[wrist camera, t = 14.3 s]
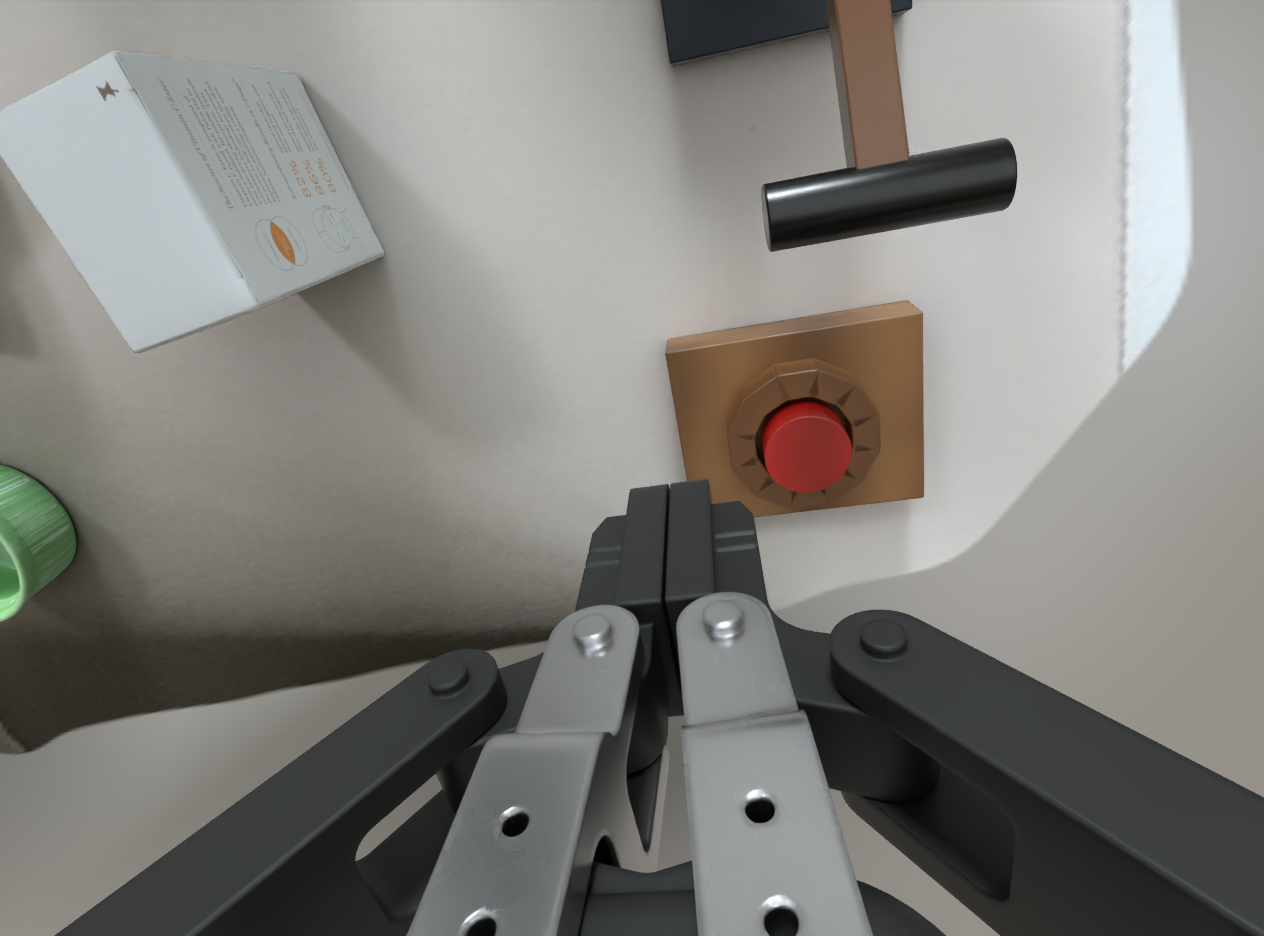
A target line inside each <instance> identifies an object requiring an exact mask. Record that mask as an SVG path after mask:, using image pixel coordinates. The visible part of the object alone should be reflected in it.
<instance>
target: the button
mask: <svg viewBox="0 0 1264 936" xmlns="http://www.w3.org/2000/svg"><path fill="white" fill-rule="evenodd" d="M762 449H763V454H764V459H765V464H766V468H767V470H768V472H769V474H770V476H771V477H772V478H773V479H774V480H775V482H777V483H778V484H779V485H780V486H782V487H784V488H786V489H788V490H791V491H794V492H800V493H811V492H817V491H820V490H823V489H825V488H828V487H829V486H831V485H833V484H834V483H836V482H837V481H838V480H839V479H840V478H841V477H842V476H843V475H844V473H845V472H846V470H847V468H848V466H849V464H850V461H851V456H852V446H851V442H850V439H849V437H848V435H847V432H846V430H845V428H844V426H843V424H842V422H841V420H840V419H839V417H838V416H837V415H836V413H835V412H833V411H832V410H831V409H830V408H828V407H826V406H824V405H822V404H819V403H816V402H806V401H804V402H796V403H792V404H789V405H787V406H785V407H783V408H781V409H780V410H778V411H777V412H776V413H775V414H774V415H773V416H772V417H771V418H770V419H769V420H768V422H767V424H766V425H765V428H764V430H763V434H762Z"/></svg>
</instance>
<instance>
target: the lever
mask: <svg viewBox="0 0 1264 936" xmlns="http://www.w3.org/2000/svg"><path fill="white" fill-rule="evenodd" d="M826 5H827V13H828V21H829V29H830V37H831V45H832V53H833V61H834V68H835V76H836V84H837V92H838V100H839V108H840V116H841V124H842V132H843V140H844V148H845V156H846V164H847V168H845V169H840V170H835V171H830V172H824V173H819V174H814V175H809V176H804V177H799V178H793V179H788V180H783V181H778V182H773V183H768V184H764V185H763V186H762V210H763V220H764V228H765V235H766V241H767V246H768V249H769V251H771V252H773V251H778V250H784V249H790V248H795V247H801V246H807V245H812V244H818V243H823V242H829V241H835V240H840V239H846V238H851V237H857V236H863V235H868V234H874V233H880V232H885V231H891V230H896V229H902V228H908V227H913V226H919V225H924V224H930V223H936V222H941V221H947V220H953V219H958V218H964V217H969V216H975V215H981V214H986V213H992V212H997V211H1003V210H1005V209H1006V208H1008V207H1009V205H1010V204H1011V202H1012V200H1013V197H1014V194H1015V189H1016V183H1017V161H1016V155H1015V151H1014V148H1013V146H1012V144H1011V142H1010V141H1009V140H1008V139H1006V138H999V139H994V140H989V141H984V142H979V143H974V144H968V145H963V146H958V147H953V148H948V149H943V150H938V151H932V152H927V153H922V154H917V155H912V156H909V149H908V141H907V133H906V125H905V117H904V109H903V101H902V93H901V85H900V77H899V69H898V61H897V53H896V45H895V37H894V28H893V20H892V12H891V4H890V0H826Z"/></svg>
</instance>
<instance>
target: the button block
mask: <svg viewBox="0 0 1264 936" xmlns="http://www.w3.org/2000/svg"><path fill="white" fill-rule="evenodd" d="M665 355H666V361H667V367H668V372H669V378H670V384H671V390H672V396H673V401H674V407H675V413H676V419H677V424H678V430H679V436H680V442H681V448H682V453H683V459H684V465H685V471H686V476H687V481H695V480H702V479H709V484H710V489H711V496H712V502H713V504H717V503H725V502H733V501H740V502H741V503H742V504H743V505H744V506H745V507H746V508H747V509H749V510H750V511H751V512H752V513H753V516H754V517H760V516H768V515H777V514H785V513H794V512H803V511H811V510H820V509H829V508H837V507H846V506H855V505H863V504H872V503H881V502H889V501H898V500H907V499H915V498H923V497H924V423H923V313H922V312H921V311H920V310H919V309H918V308H917V307H915V306H914V305H913V304H912V303H910V302H909V301H901V302H894V303H888V304H882V305H876V306H870V307H863V308H857V309H851V310H845V311H839V312H832V313H826V314H820V315H814V316H808V317H801V318H795V319H789V320H783V321H777V322H771V323H764V324H758V325H752V326H746V327H740V328H733V329H727V330H721V331H715V332H709V333H702V334H696V335H690V336H684V337H678V338H671V339H668V341H667V347H666V353H665ZM804 401H806V402H816V403H819V404H822V405H824V406H826V407H828V408H830V409H831V410H832V411H833V412H835V413H836V415H837V416H838V417H839V419H840V420H841V422H842V424H843V426H844V428H845V430H846V432H847V435H848V437H849V439H850V442H851V446H852V456H851V461H850V464H849V466H848V468H847V470H846V472H845V473H844V475H843V476H842V477H841V478H840V479H839V480H838V481H837V482H836V483H834V484H833V485H831V486H829V487H828V488H825V489H823V490H820V491H817V492H811V493H800V492H794V491H791V490H788V489H786V488H784V487H782V486H780V485H779V484H778V483H777V482H775V480H774V479H773V478H772V477H771V476H770V474H769V472H768V470H767V468H766V464H765V459H764V454H763V449H762V434H763V430H764V428H765V425H766V424H767V422H768V420H769V419H770V418H771V417H772V416H773V415H774V414H775V413H776V412H777V411H778V410H780V409H781V408H783V407H785V406H787V405H789V404H792V403H796V402H804Z"/></svg>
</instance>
